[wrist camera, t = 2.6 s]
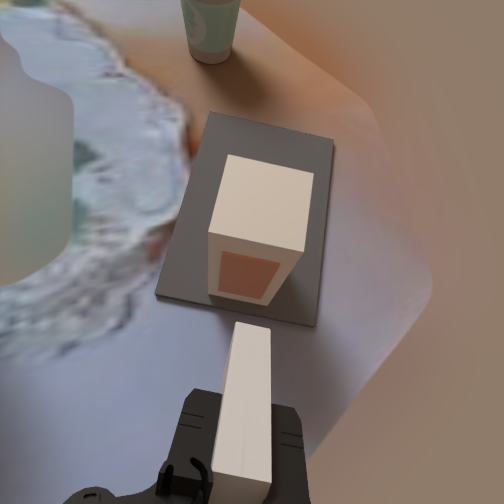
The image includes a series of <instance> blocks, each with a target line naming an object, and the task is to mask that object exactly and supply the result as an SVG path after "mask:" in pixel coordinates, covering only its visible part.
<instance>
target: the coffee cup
mask: <svg viewBox="0 0 504 504" xmlns="http://www.w3.org/2000/svg"><path fill="white" fill-rule="evenodd" d="M240 1H241V0H181V6H182V12H183V18H184V23H185V29H186V35H187V41H188V46H189V51H190V53H191V55H192V56H193V57H194V58H195V59H197V60H198V61H200V62H203V63H207V64H218V63H221V62H223V61H225V60H226V59H227V58H228V57H229V56H230V53H231V48H232V43H233V38H234V33H235V27H236V22H237V17H238V12H239V6H240Z"/></svg>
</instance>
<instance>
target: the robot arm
mask: <svg viewBox="0 0 504 504" xmlns="http://www.w3.org/2000/svg"><path fill="white" fill-rule="evenodd" d="M302 437H303V434H302V425H301V420H300V418H299V416H298V415H297V413H296V411H295V409H294V408H291V407H287V406H282V405H277V404H272V403H271V342H270V329H268V328H264V327H259V326H255V325H250V324H245V323H241V322H236V323H235V328H234V332H233V336H232V340H231V344H230V348H229V352H228V356H227V361H226V365H225V369H224V374H223V379H222V385H221V390H220V393H215V392H210V391H205V390H200V389H196V388H194V390H193V391H192V392H191V393H190V394H189V395H188V396H187V397H186V398H185V401H184V405H183V408H182V411H181V415H180V418H179V421H178V425H177V428H176V431H175V435H174V438H173V442H172V445H171V448H170V452H169V455H168V458H167V460H166V461H165V462H164V463H163V465H162V467H161V469H160V471H159V474H158V480H157V482H156V483H155V484H154V485H152V486H151V487H150V488H148V489H146V490H145V491H143V492H140V493H136V494H133V495H126V496H120V497H115V496H114V495H113V494H112V493H111V492H110V491H109V490H107V489H105V488H101V487H90V488H84V489H82V490H80V491H78V492H76V493H74V494H73V495H72V496H70V497H69V498H68V499H67V500H66V501H65V502H64V503H63V504H311V502H310V498H309V490H308V481H307V472H306V462H305V453H304V443H303V439H302Z"/></svg>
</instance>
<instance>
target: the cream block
mask: <svg viewBox="0 0 504 504" xmlns="http://www.w3.org/2000/svg"><path fill="white" fill-rule="evenodd" d="M313 176H314V173H310V172H305V171H301V170H296V169H292V168H287V167H283V166H278V165H274V164H269V163H265V162H261V161H256V160H252V159H247V158H243V157H238V156H234V155H229V154H228V157H227V161H226V164H225V168H224V172H223V176H222V180H221V184H220V188H219V192H218V195H217V199H216V203H215V207H214V211H213V215H212V219H211V223H210V226H209V230H208V294H211V295H216V296H220V297H225V298H230V299H235V300H240V301H245V302H249V303H254V304H259V305H264V306H268V304H269V303H270V301H271V300H272V298H273V297H274V295H275V294H276V292H277V291H278V289H279V288H280V287H281V285H282V284H283V282H284V281H285V279H286V278H287V276H288V275H289V273H290V272H291V270H292V269H293V267H294V266H295V264H296V263H297V261H298V260H299V258H300V257H301V256H302V254H303V253H304V247H305V239H306V231H307V223H308V215H309V207H310V199H311V191H312V183H313Z"/></svg>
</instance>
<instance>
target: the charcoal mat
mask: <svg viewBox="0 0 504 504" xmlns="http://www.w3.org/2000/svg"><path fill="white" fill-rule="evenodd" d="M333 143H334V140H333V139H329V138H324V137H320V136H315V135H311V134H307V133H302V132H298V131H294V130H289V129H285V128H281V127H276V126H272V125H267V124H263V123H259V122H254V121H250V120H246V119H241V118H237V117H232V116H228V115H224V114H219V113H215V112H211V111H210V113H209V116H208V120H207V123H206V126H205V129H204V133H203V136H202V139H201V143H200V146H199V149H198V152H197V156H196V159H195V162H194V165H193V169H192V172H191V175H190V179H189V182H188V185H187V188H186V192H185V195H184V198H183V202H182V205H181V208H180V211H179V215H178V218H177V221H176V225H175V228H174V231H173V234H172V238H171V241H170V244H169V248H168V251H167V254H166V257H165V261H164V264H163V267H162V270H161V274H160V277H159V280H158V284H157V287H156V290H155V295H157V296H162V297H167V298H172V299H177V300H182V301H187V302H191V303H196V304H201V305H206V306H211V307H216V308H221V309H226V310H231V311H235V312H240V313H245V314H250V315H255V316H260V317H265V318H270V319H274V320H279V321H284V322H289V323H294V324H299V325H304V326H309V327H315V320H316V310H317V300H318V290H319V280H320V271H321V261H322V251H323V241H324V231H325V221H326V212H327V202H328V192H329V182H330V172H331V162H332V153H333ZM228 154H229V155H234V156H238V157H243V158H247V159H252V160H256V161H261V162H265V163H269V164H274V165H278V166H283V167H287V168H292V169H296V170H301V171H305V172H310V173H314V176H313V183H312V191H311V199H310V207H309V215H308V223H307V231H306V239H305V247H304V253H303V254H302V256H301V257H300V258H299V260H298V261H297V263H296V264H295V266H294V267H293V269H292V270H291V272H290V273H289V275H288V276H287V278H286V279H285V281H284V282H283V284H282V285H281V287H280V288H279V289H278V291H277V292H276V294H275V295H274V297H273V298H272V300H271V301H270V303H269V304H268V306H264V305H259V304H254V303H249V302H245V301H240V300H235V299H230V298H225V297H220V296H216V295H211V294H208V230H209V226H210V223H211V219H212V215H213V211H214V207H215V203H216V199H217V195H218V192H219V188H220V184H221V180H222V176H223V172H224V168H225V164H226V161H227V157H228Z"/></svg>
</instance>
